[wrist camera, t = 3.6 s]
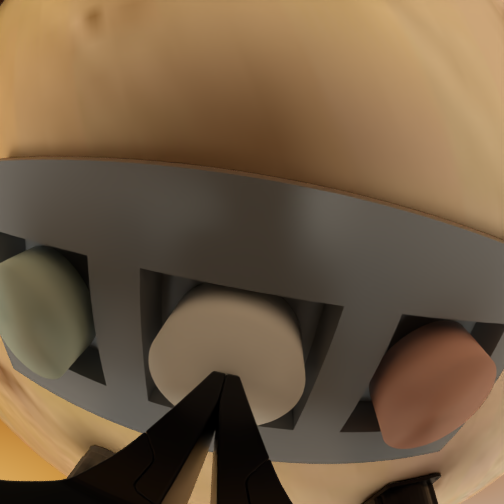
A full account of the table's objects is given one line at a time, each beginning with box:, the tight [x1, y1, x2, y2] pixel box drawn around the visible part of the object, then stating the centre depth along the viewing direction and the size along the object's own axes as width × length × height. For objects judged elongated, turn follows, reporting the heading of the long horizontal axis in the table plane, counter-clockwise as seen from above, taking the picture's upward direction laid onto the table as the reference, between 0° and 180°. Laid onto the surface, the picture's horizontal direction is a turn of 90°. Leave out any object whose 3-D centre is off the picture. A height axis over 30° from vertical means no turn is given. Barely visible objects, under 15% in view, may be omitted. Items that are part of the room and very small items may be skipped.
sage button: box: [0, 246, 96, 380], centre depth 9 cm, size 5×5×2 cm
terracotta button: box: [369, 321, 497, 449], centre depth 8 cm, size 5×5×2 cm
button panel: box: [0, 156, 504, 464], centre depth 10 cm, size 26×12×2 cm, turn 81°
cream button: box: [149, 282, 306, 425], centre depth 9 cm, size 5×5×2 cm
